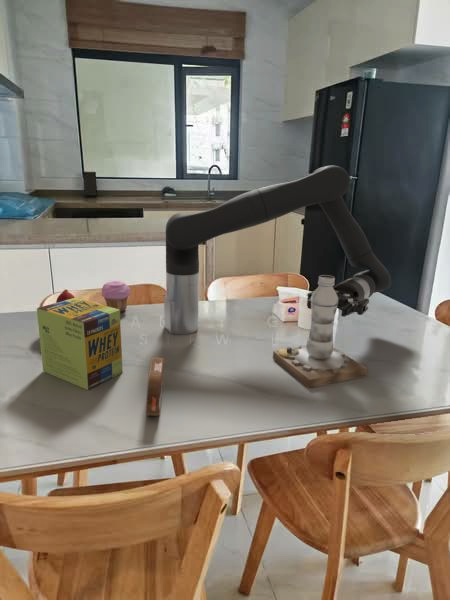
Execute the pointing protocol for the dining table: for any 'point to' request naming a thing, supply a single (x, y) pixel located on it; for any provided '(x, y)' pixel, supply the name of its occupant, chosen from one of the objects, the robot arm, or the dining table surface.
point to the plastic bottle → (322, 318)
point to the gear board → (318, 366)
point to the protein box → (80, 341)
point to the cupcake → (116, 294)
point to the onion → (64, 296)
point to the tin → (155, 387)
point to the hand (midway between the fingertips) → (325, 308)
